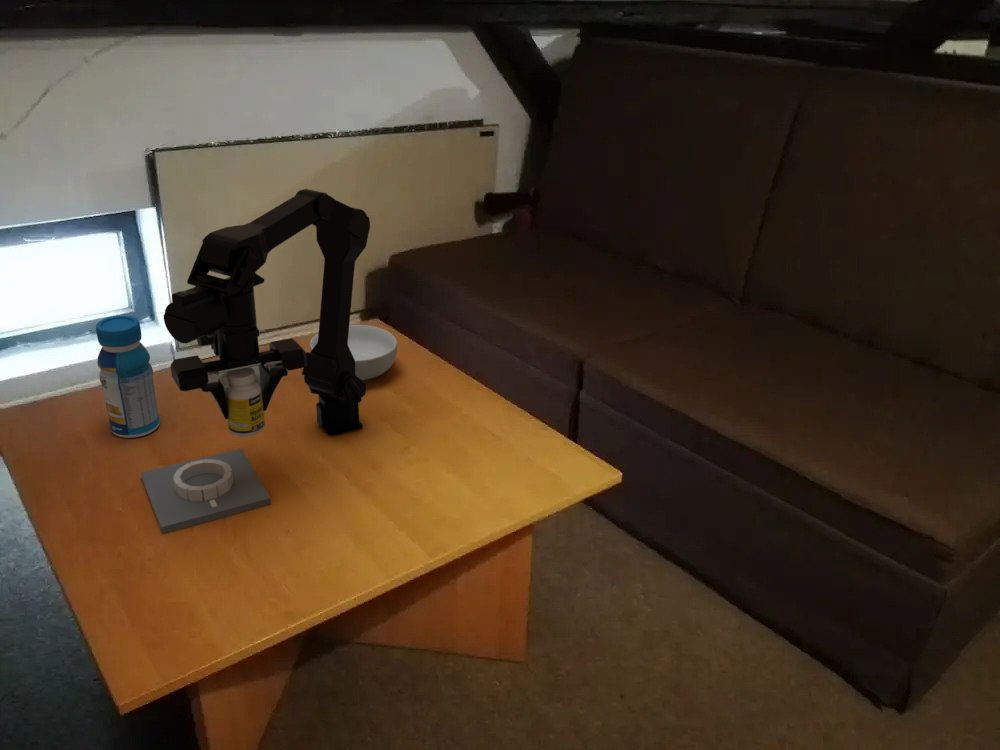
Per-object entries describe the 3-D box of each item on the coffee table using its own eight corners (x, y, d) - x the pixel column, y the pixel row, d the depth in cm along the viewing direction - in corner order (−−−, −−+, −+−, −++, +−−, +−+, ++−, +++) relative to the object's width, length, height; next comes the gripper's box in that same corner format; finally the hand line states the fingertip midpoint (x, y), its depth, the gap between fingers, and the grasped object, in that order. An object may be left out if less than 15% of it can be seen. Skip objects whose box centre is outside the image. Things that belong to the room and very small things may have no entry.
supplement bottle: (256, 439, 131) (249, 382, 126) (222, 435, 132) (214, 378, 127) (271, 422, 136) (264, 365, 131) (238, 418, 136) (231, 362, 132)
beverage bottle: (153, 439, 149) (135, 333, 140) (102, 439, 148) (81, 332, 139) (167, 415, 156) (151, 312, 147) (118, 415, 156) (99, 312, 147)
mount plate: (242, 454, 146) (240, 438, 144) (270, 504, 134) (269, 487, 132) (141, 478, 138) (138, 461, 137) (162, 533, 126) (159, 515, 125)
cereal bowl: (314, 396, 165) (312, 363, 162) (309, 358, 179) (307, 327, 176) (403, 389, 169) (402, 356, 166) (391, 352, 183) (390, 321, 180)
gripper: (280, 291, 136) (286, 380, 143) (155, 310, 127) (169, 404, 134) (305, 316, 128) (310, 409, 135) (174, 338, 119) (187, 437, 126)
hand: (245, 413), depth 132 cm, fingers closed on supplement bottle, 5 cm apart
